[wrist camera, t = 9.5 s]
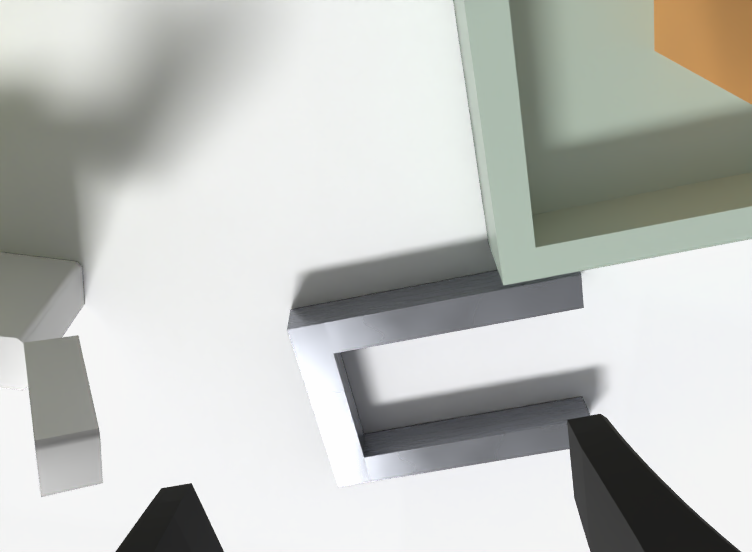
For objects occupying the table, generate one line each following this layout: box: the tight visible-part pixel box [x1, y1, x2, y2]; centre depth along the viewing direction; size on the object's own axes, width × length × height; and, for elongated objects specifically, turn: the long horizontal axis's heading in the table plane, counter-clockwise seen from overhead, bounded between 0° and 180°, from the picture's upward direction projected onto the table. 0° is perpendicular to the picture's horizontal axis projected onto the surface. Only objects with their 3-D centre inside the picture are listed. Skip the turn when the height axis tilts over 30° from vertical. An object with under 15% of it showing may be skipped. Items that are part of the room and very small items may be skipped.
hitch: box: [287, 270, 590, 487], centre depth 24 cm, size 9×7×1 cm
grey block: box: [0, 252, 103, 497], centre depth 19 cm, size 7×2×8 cm, turn 81°
